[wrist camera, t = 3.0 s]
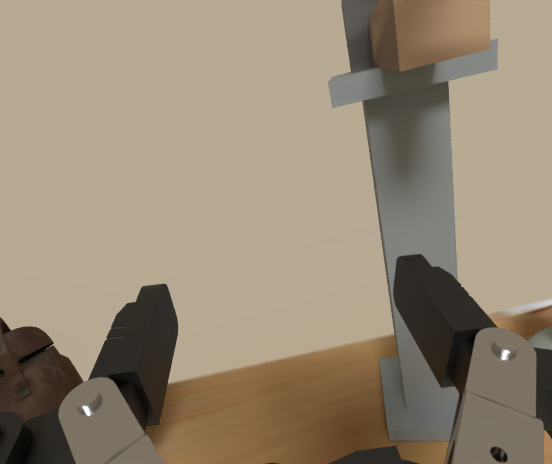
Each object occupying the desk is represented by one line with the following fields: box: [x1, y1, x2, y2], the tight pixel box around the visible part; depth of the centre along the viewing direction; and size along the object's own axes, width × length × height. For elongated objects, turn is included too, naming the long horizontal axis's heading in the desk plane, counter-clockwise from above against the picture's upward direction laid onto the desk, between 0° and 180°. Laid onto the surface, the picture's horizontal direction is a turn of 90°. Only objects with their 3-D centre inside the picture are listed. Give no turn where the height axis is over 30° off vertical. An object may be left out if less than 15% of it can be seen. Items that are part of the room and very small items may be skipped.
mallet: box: [342, 0, 490, 73], centre depth 19 cm, size 6×16×4 cm, turn 170°
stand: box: [328, 39, 497, 441], centre depth 30 cm, size 9×9×32 cm
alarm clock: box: [0, 318, 83, 421], centre depth 33 cm, size 14×7×20 cm, turn 42°
